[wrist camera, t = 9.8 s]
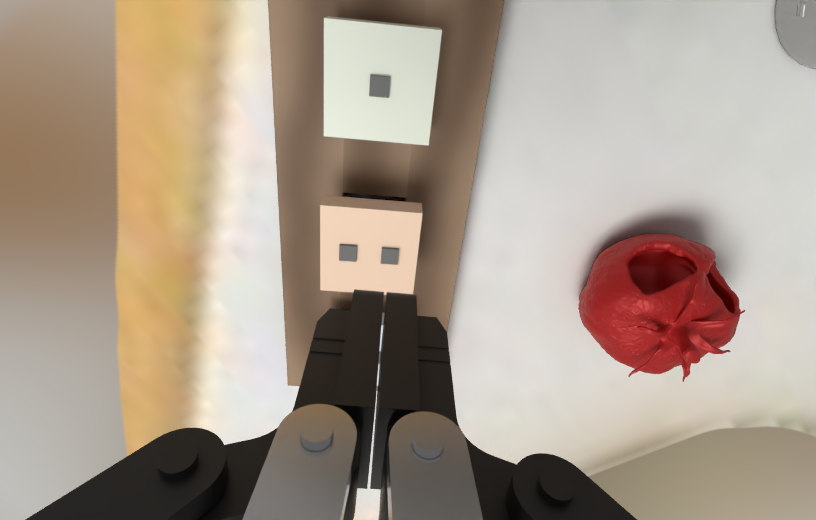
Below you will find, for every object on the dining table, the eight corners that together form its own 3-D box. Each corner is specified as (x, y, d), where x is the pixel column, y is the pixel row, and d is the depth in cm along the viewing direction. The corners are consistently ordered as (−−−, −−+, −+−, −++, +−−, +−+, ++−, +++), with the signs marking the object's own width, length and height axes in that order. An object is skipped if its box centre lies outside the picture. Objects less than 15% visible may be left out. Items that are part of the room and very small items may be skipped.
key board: (501, -38, 25) (511, -40, 23) (434, 372, 40) (436, 393, 38) (276, -63, 25) (264, -68, 22) (294, 363, 40) (287, 385, 38)
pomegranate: (651, 340, 39) (715, 433, 31) (544, 308, 37) (583, 397, 29) (731, 241, 34) (831, 320, 26) (613, 199, 32) (682, 270, 24)
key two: (420, 186, 29) (422, 214, 26) (411, 262, 32) (412, 298, 28) (329, 178, 29) (319, 206, 25) (329, 256, 32) (319, 292, 28)
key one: (436, 23, 26) (442, 30, 22) (425, 125, 29) (428, 146, 25) (334, 13, 25) (323, 18, 22) (333, 117, 28) (323, 137, 25)
